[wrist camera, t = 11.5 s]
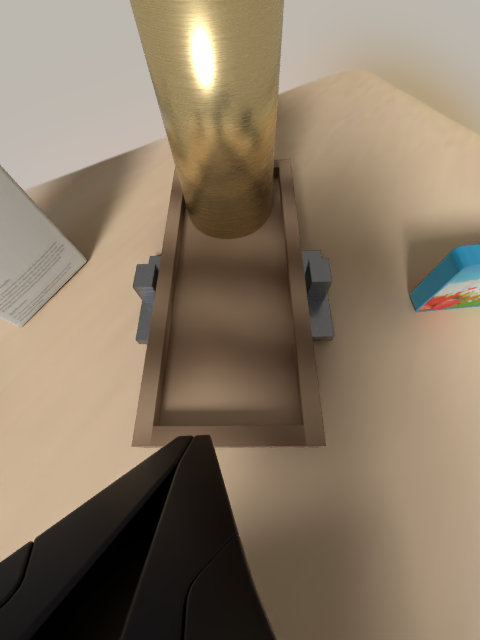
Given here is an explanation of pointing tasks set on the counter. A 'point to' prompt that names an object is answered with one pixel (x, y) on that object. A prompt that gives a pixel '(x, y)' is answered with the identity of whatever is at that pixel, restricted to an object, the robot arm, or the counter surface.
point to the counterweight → (217, 103)
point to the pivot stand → (316, 290)
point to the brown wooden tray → (231, 335)
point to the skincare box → (30, 254)
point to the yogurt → (451, 282)
